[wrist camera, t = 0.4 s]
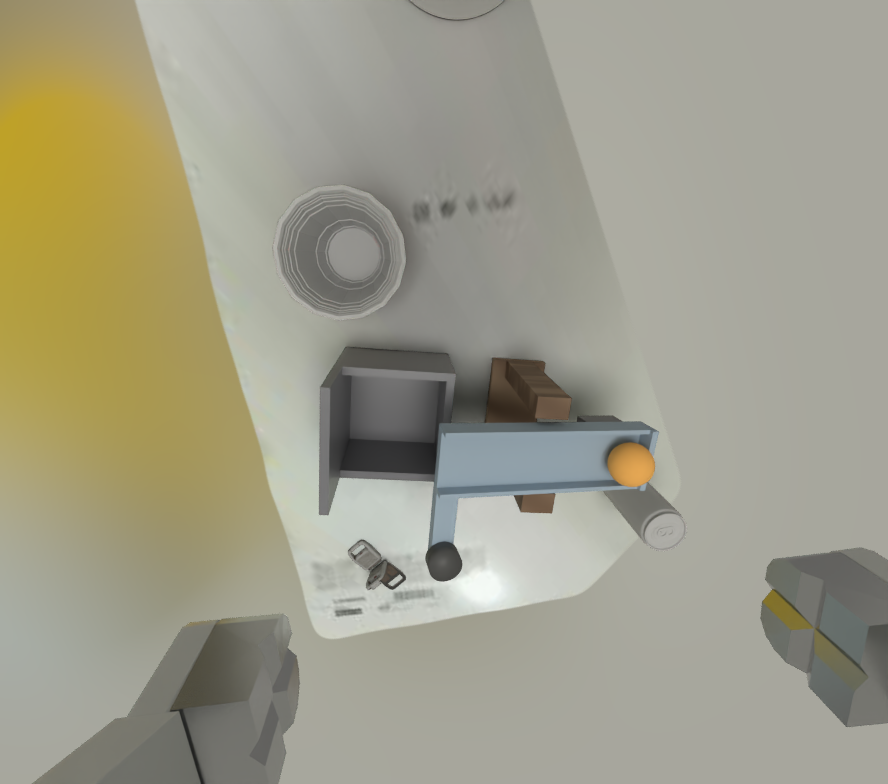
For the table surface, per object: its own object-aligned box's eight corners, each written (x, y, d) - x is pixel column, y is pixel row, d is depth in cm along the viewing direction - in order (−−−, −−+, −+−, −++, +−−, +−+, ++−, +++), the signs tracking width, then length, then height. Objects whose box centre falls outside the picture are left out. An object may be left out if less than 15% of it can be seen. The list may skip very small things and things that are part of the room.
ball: (603, 436, 43) (629, 454, 39) (640, 435, 44) (669, 453, 40) (595, 475, 44) (620, 496, 41) (631, 473, 45) (659, 494, 42)
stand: (492, 357, 54) (521, 395, 40) (542, 361, 55) (588, 399, 41) (481, 448, 57) (505, 511, 44) (529, 450, 58) (567, 513, 44)
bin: (345, 346, 53) (320, 387, 37) (448, 353, 54) (463, 396, 38) (343, 442, 56) (318, 514, 41) (439, 446, 57) (451, 519, 42)
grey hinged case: (346, 549, 61) (341, 571, 57) (363, 536, 60) (359, 556, 56) (391, 588, 63) (390, 612, 59) (408, 575, 62) (407, 598, 58)
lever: (426, 411, 42) (441, 435, 37) (622, 411, 48) (659, 432, 42) (415, 544, 46) (428, 582, 41) (597, 530, 52) (629, 562, 46)
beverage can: (597, 465, 59) (641, 517, 48) (634, 457, 59) (687, 507, 48) (600, 498, 61) (645, 556, 49) (636, 490, 61) (689, 547, 49)
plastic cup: (427, 260, 50) (432, 264, 39) (352, 324, 52) (336, 346, 40) (359, 175, 48) (343, 152, 36) (282, 245, 49) (243, 244, 38)
